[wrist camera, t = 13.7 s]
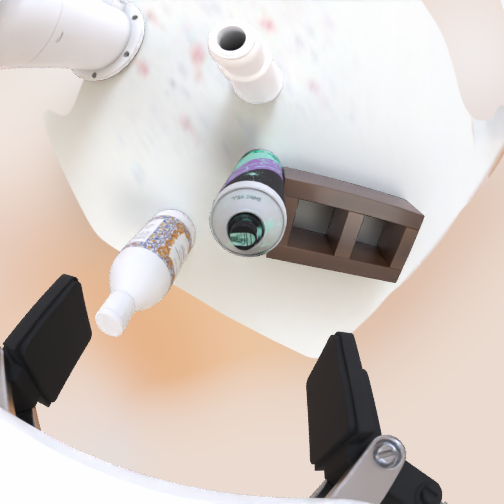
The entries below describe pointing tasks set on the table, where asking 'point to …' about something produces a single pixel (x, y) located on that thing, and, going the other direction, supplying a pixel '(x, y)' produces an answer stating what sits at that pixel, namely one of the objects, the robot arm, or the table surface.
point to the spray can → (251, 206)
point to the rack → (347, 228)
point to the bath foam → (145, 269)
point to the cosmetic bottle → (245, 61)
